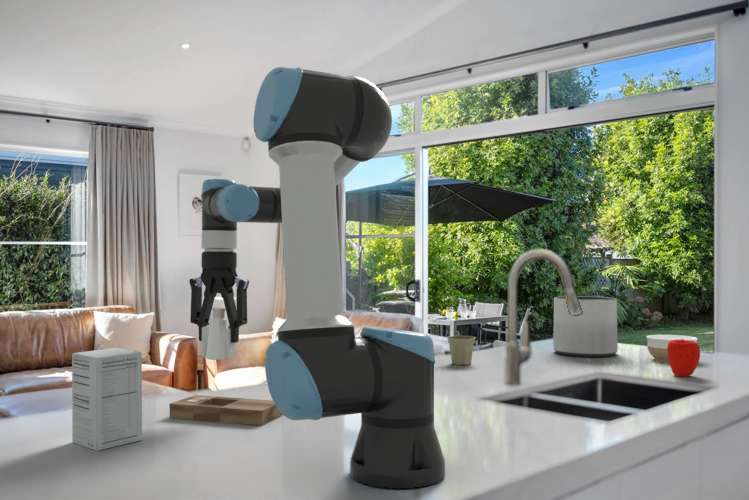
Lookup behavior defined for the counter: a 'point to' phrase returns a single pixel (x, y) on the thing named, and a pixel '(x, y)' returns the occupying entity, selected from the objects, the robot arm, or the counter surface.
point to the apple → (683, 357)
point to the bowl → (663, 345)
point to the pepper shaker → (217, 335)
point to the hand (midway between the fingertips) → (218, 356)
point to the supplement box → (106, 398)
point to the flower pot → (461, 349)
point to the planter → (586, 327)
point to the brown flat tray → (225, 409)
